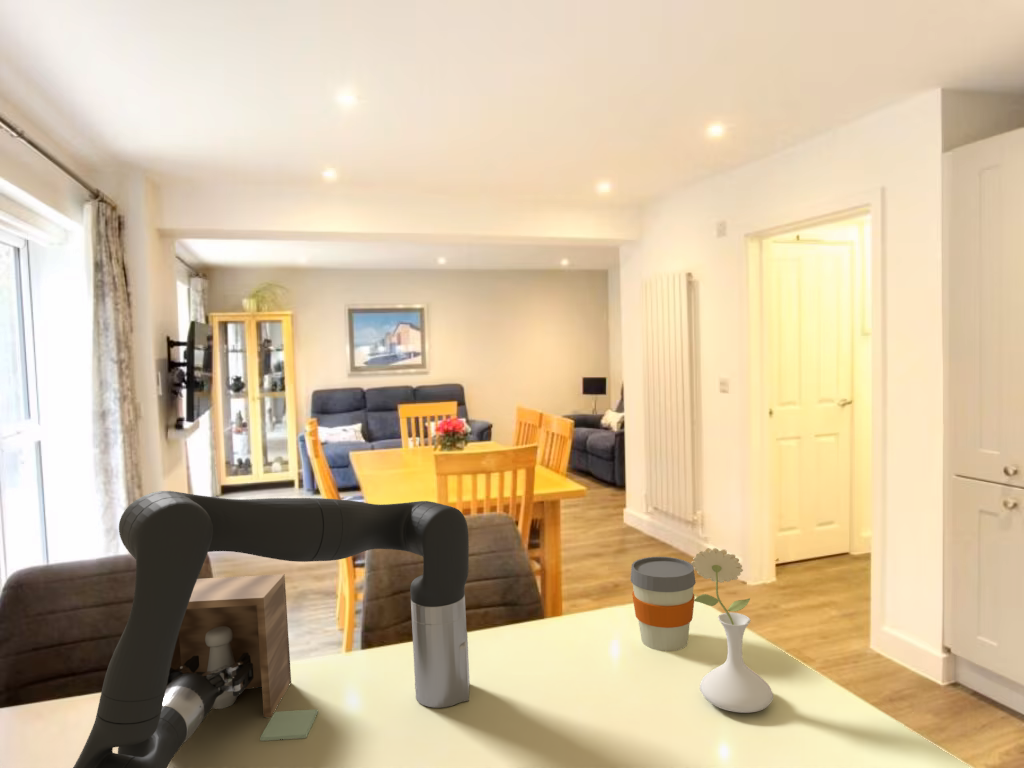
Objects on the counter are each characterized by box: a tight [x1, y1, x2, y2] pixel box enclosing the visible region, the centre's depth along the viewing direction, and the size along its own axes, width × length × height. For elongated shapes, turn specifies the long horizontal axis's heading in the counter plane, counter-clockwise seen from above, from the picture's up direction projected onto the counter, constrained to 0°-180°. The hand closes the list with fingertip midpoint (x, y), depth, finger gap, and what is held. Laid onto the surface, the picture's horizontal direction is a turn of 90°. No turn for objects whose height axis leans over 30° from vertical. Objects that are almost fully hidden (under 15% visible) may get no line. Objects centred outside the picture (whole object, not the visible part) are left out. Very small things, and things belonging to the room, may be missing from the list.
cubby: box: [170, 573, 292, 718], centre depth 111 cm, size 20×11×20 cm, turn 92°
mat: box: [259, 708, 319, 742], centre depth 104 cm, size 7×7×1 cm
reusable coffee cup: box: [630, 556, 696, 652], centre depth 128 cm, size 13×13×15 cm
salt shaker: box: [205, 626, 238, 710], centre depth 111 cm, size 6×6×13 cm
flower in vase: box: [690, 547, 774, 714], centre depth 106 cm, size 13×11×25 cm
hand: (221, 659), depth 112 cm, fingers open, 8 cm apart
